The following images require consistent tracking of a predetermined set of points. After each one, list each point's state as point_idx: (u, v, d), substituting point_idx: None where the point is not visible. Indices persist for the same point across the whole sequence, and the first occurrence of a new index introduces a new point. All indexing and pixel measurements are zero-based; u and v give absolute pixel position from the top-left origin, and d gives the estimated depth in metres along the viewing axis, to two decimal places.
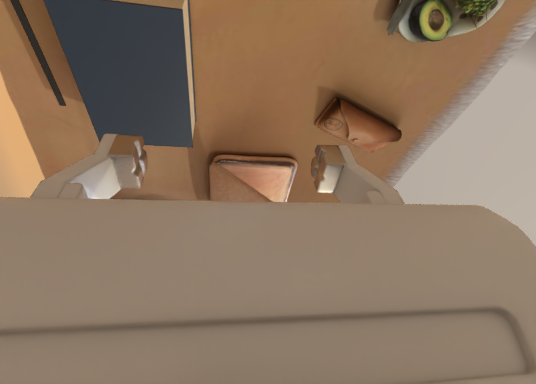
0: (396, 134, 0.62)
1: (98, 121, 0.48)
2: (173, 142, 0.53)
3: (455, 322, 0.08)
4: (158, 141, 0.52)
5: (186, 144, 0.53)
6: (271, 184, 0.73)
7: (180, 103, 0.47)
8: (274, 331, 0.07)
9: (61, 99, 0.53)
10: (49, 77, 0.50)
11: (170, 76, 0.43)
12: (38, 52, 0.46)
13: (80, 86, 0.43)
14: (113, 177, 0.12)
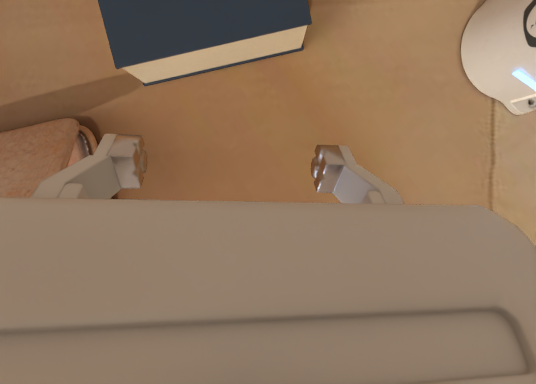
0: None
1: None
2: (116, 36, 0.33)
3: (456, 322, 0.08)
4: (110, 12, 0.33)
5: (118, 56, 0.33)
6: None
7: (191, 37, 0.33)
8: (274, 331, 0.07)
9: None
10: None
11: (228, 18, 0.33)
12: None
13: None
14: (113, 177, 0.12)
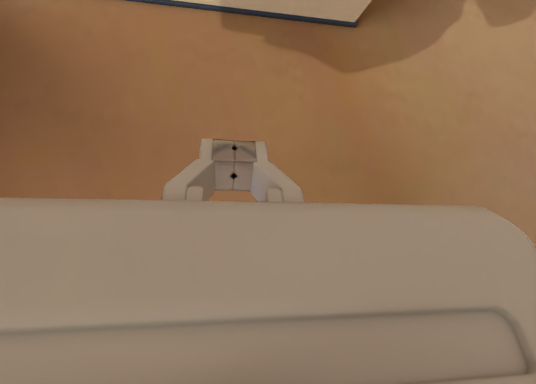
0: None
1: None
2: None
3: (456, 322, 0.08)
4: None
5: None
6: None
7: None
8: (274, 332, 0.07)
9: None
10: None
11: None
12: None
13: None
14: (213, 180, 0.12)
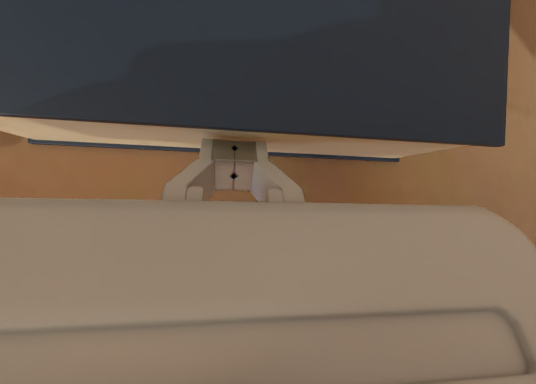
0: None
1: None
2: None
3: (456, 322, 0.08)
4: None
5: None
6: None
7: (178, 85, 0.10)
8: (274, 332, 0.07)
9: None
10: None
11: (302, 68, 0.11)
12: None
13: None
14: (213, 180, 0.12)
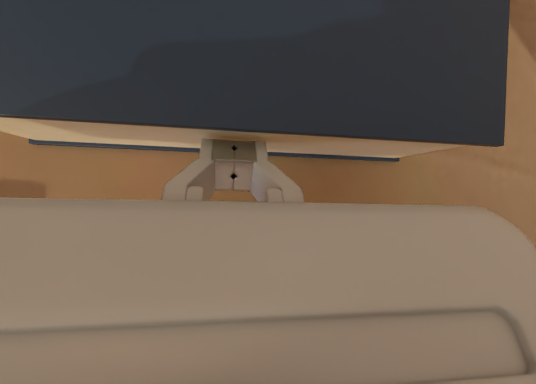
0: None
1: None
2: None
3: (455, 322, 0.08)
4: None
5: None
6: None
7: (177, 86, 0.10)
8: (274, 331, 0.07)
9: None
10: None
11: (300, 69, 0.11)
12: None
13: None
14: (213, 180, 0.12)
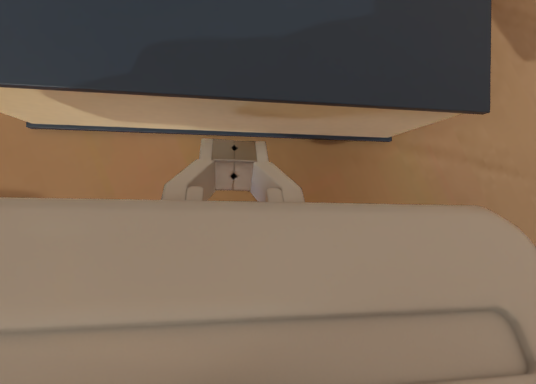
0: None
1: None
2: None
3: (456, 322, 0.08)
4: None
5: None
6: None
7: (171, 55, 0.11)
8: (274, 332, 0.07)
9: None
10: None
11: (290, 38, 0.12)
12: None
13: None
14: (213, 180, 0.12)
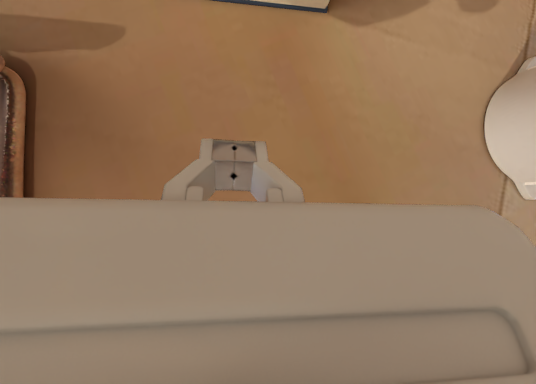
0: None
1: None
2: None
3: (455, 322, 0.08)
4: None
5: None
6: None
7: None
8: (274, 331, 0.07)
9: None
10: None
11: None
12: None
13: None
14: (213, 180, 0.12)
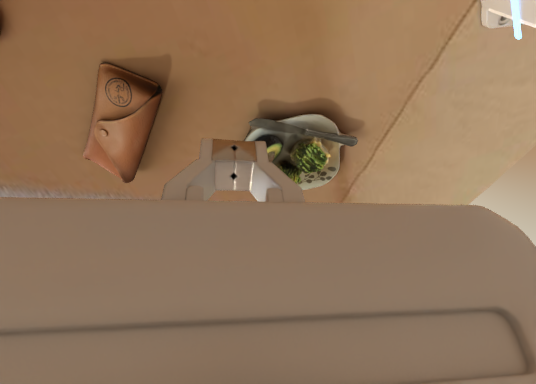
0: (131, 176, 0.48)
1: None
2: None
3: (456, 322, 0.08)
4: None
5: None
6: None
7: None
8: (274, 332, 0.07)
9: None
10: None
11: None
12: None
13: None
14: (213, 180, 0.12)
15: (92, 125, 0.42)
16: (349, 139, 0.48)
